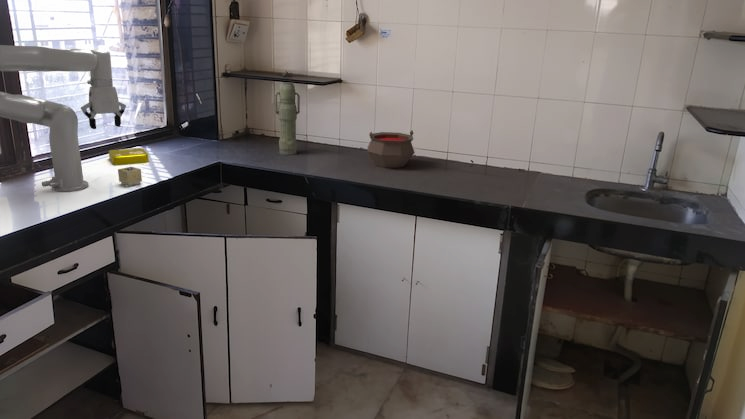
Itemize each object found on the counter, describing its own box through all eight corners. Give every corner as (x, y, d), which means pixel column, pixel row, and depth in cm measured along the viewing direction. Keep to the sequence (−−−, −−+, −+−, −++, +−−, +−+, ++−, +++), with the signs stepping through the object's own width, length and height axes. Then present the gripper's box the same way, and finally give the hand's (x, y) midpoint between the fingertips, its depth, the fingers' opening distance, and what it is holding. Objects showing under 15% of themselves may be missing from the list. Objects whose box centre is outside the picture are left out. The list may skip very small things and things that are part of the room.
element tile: (143, 156, 268) (142, 146, 266) (149, 163, 256) (148, 153, 254) (108, 159, 260) (107, 149, 259) (114, 166, 248) (113, 156, 247)
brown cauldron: (401, 157, 284) (403, 125, 279) (423, 168, 264) (426, 134, 258) (357, 160, 275) (358, 127, 270) (376, 172, 255) (378, 136, 249)
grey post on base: (129, 186, 220) (127, 170, 217) (121, 183, 222) (119, 168, 220) (140, 183, 224) (138, 167, 221) (132, 181, 226) (131, 165, 224)
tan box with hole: (128, 184, 219) (127, 171, 217) (119, 181, 222) (117, 169, 220) (141, 181, 223) (140, 169, 222) (132, 178, 226) (131, 166, 225)
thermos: (301, 154, 281) (301, 83, 270) (277, 155, 278) (276, 83, 267) (298, 151, 289) (298, 81, 278) (275, 151, 286) (274, 81, 275)
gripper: (83, 84, 207) (88, 131, 212) (128, 83, 220) (131, 126, 225) (74, 83, 211) (78, 128, 217) (118, 81, 224) (122, 124, 229)
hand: (105, 127), depth 221 cm, fingers open, 9 cm apart
